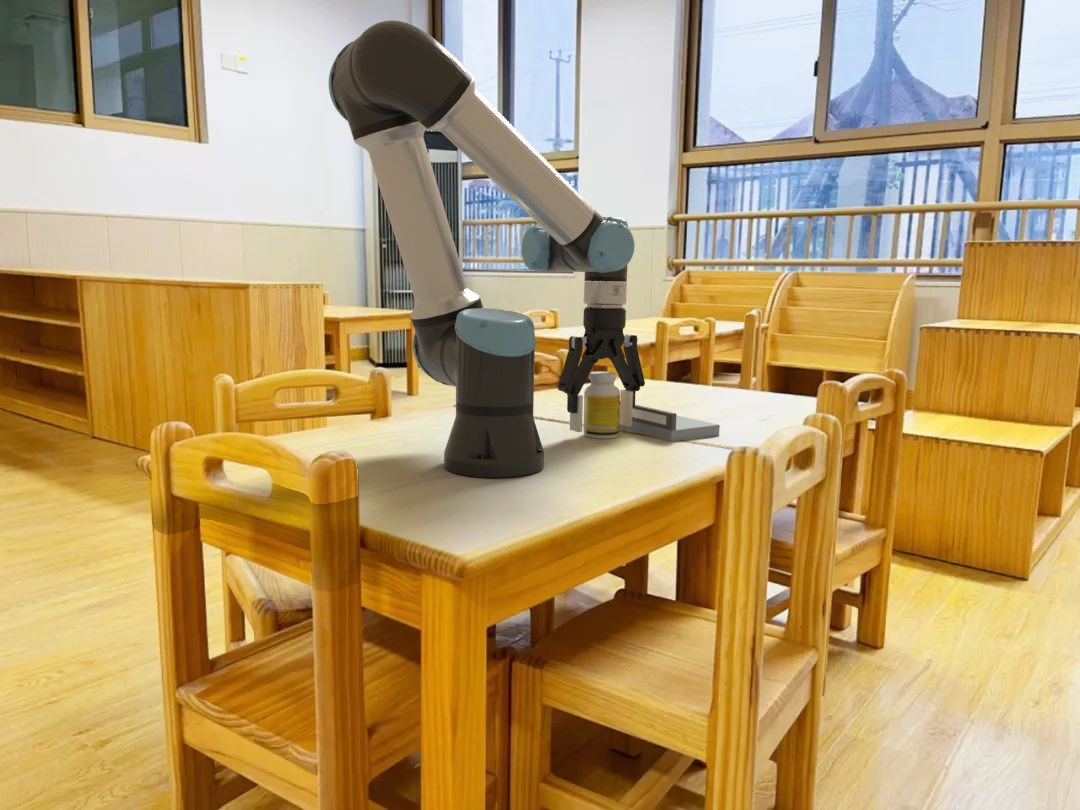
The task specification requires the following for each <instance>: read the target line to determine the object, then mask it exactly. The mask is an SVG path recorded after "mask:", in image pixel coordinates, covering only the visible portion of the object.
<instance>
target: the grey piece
mask: <svg viewBox="0 0 1080 810" xmlns="http://www.w3.org/2000/svg"><path fill="white" fill-rule="evenodd" d="M619 422H620V408H619ZM720 426H721V425H720V424H717V423H714V422H708V421H704V420H699V419H695V418H691V417H686V416H682V415H677V413H676V412H672V411H666V410H662V409H657V408H653V407H648V406H644V405H639V404H635V406H634V407H633V408H632V426H629V427H628V426H625V425H621V424H619V429H621V430H625V431H629V432H633V433H636V434H641V435H645V436H647V437H652V438H656V439H660V440H664V441H668V442H679V441H686V440H694V439H702V438H710V437H717V436H720V429H721V428H720Z"/></svg>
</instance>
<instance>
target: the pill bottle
mask: <svg viewBox="0 0 1080 810" xmlns="http://www.w3.org/2000/svg"><path fill="white" fill-rule="evenodd" d="M616 377H617V376H616V372H611V371H591V372H590V374H589V377H588V379H589V381H590V385H589V386H587V387H585V390H584V395H583V434H584V435H585V437H588V438H592V439H597V440H598V439H600V440H602V439H603V440H610V439H614V438H617V437H618V435H620V434H619V433H620V428H619V408H620V392H621V390H620V389H619V388H618V387H617V386H616V385H615V382H616Z"/></svg>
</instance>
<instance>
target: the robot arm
mask: <svg viewBox="0 0 1080 810" xmlns="http://www.w3.org/2000/svg"><path fill="white" fill-rule="evenodd" d="M475 82H476V81H475V76H474V75H473V74H472V73H471V72H470V71H469V69H467V68H466V67H465V66H464V64H463V63H462V62H461V61H460V60H459V59H458V58H456V56H454V55H453V53H451V52H450V51H449V50H448V49H447V48H446V47H445V46H443V44H441V43H440V42H439V41H437V39H435V38H434V37H433V36H431V35H430V34H428V33H427V32H425V31H424V30H422V29H421V28H419V27H418V26H415V25H413V24H411V23H408V22H405V21H400V20H393V19H392V20H384V21H381V22H376V23H374V24H373V25H371V26H369V27H368V28H366V29H365V30H364V31H363V32H362V33H361V34H360V36H358V37H357V38H355V40H353V41H351V42H349V43H348V44H346V45H345V46H344V47H343V48H342V49H341V50H340V51H339V52H338V54H337V55H336V57H335V59H334V61H333V63H332V65H331V67H330V71H329V75H328V93H329V96H330V99H331V102H332V105H333V106H334V108H335V110H336V111H337V112H338V113H339V115H340V116H341V117H342V118H343V119H344V120H345V121H347V123H348V125H349V129H350V131H351V135H352V138H353V142H354V144H356V145H358V146H360V147H361V148H363V149H364V150H366V151H367V153H368V154H369V155H368V156H369V158H370V162H371V165H372V168H373V171H374V174H375V177H376V181H377V185H378V187H379V189H380V190H379V191H380V193H381V197H382V199H383V203H384V206H385V209H386V212H387V215H388V219H389V222H390V225H391V228H392V232H393V235H394V237H395V240H396V244H397V247H398V250H399V253H400V254H399V255H400V257H401V259H402V264H403V266H404V269H405V273H406V275H407V278H408V282H409V285H410V288H411V292H412V295H413V298H414V301H415V305H414V307H413V309H412V311H411V313H410V315H409V316H410V320H411V322H412V326H413V330H414V332H415V333H414V335H413V338H412V352H413V356H414V359H415V361H416V364H417V365H418V367H419V368H420V369H421V371H422V372H423V373H424V374H426V375H427V376H428V377H430V378H431V379H432V380H433V381H435V382H437V383H441V384H442V385H445V386H450V387H455V418H454V421H453V424H452V427H451V430H450V433H449V435H448V439H447V442H446V446H445V448H444V451H443V467H444V469H446V470H448V471H449V472H451V473H455V474H458V475H461V476H462V475H463V476H468V477H469V476H470V477H477V478H478V477H479V478H513V477H521V476H527V475H528V476H529V475H532V474H536V473H538V472H541V471H542V470H543V469H544V468H545V451H544V448H543V444H542V441H541V438H540V435H539V431H538V429H537V428H538V427H537V425H536V421H535V416H534V405H535V404H534V402H535V400H534V397H535V396H534V394H535V358H536V357H535V355H536V354H535V353H536V351H535V348H536V344H537V341H536V332H535V324H534V322H533V320H532V318H531V317H530V316H527V315H526V314H524V313H522V312H521V313H520V312H518V311H512V310H504V309H498V308H486V307H485V308H484V306H483V303H482V300H481V299H482V298H481V296H480V294H478V293H476V292H474V291H473V290H471V289H470V288H469V287H468V285H467V282H466V278H465V274H464V272H463V268H462V266H461V262H460V259H459V255H458V251H457V247H456V245H455V241H454V238H453V233H452V230H451V228H450V224H449V221H448V217H447V214H446V211H445V207H444V204H443V200H442V197H441V193H440V190H439V187H438V183H437V179H436V176H435V173H434V169H433V166H432V162H431V159H430V155H429V152H428V150H427V145H426V142H425V139H424V135H425V132H426V130H428V131H434V130H436V131H439V132H440V133H441V134H442V135H443V136H445V138H446V139H448V141H450V142H451V143H452V144H453V145H454V146H455V147H456V148H457V149H459V150H460V152H461V153H463V155H465V156H466V157H467V158H468V159H469V160H470V161H471V162H472V163H474V164H475V166H476V167H478V169H480V170H481V171H482V173H484V174H485V176H487V177H488V178H489V179H490V180H491V181H492V182H494V184H496V186H497V187H499V188H500V190H502V191H503V192H504V193H505V194H506V195H507V196H508V197H510V199H511V200H512V201H513V202H515V204H517V205H518V206H519V207H520V208H521V209H522V210H523V211H524V212H525V213H526V214H527V215H528V216H530V218H531V219H533V220H534V221H535V222H536V223H537V224H538V225H533V226H530V227H529V228H527V229H526V231H525V232H524V235H523V237H522V240H521V257H522V261H523V264H524V265H525V267H526V268H528V269H529V270H530V271H536V272H537V271H538V272H543V273H547V272H559V273H561V272H562V273H563V272H566V273H567V272H569V273H570V272H571V273H573V272H577V273H578V272H579V273H584V282H583V283H584V285H583V286H584V289H583V304H585V305H586V307H584V308H583V318H582V320H583V321H582V323H583V324H582V325H583V328H584V334H583V336H574V335H573V336H572V335H570V336H569V338H568V351H567V354H566V359H565V362H564V365H563V369H562V371H561V374H560V378H559V381H558V385H557V390H558V391H560V392H563V393H564V394H566V395H567V398H566V399H567V400H566V401H567V402H566V404H567V405H566V408H567V409H566V410H567V411H566V412H567V413H569V430H570V431H574V432H576V433H582V432H583V416H584V395H583V394H580V393H581V391H582V389H583V387H584V386H585V383H586V381H587V379H588V378H589V377H590V372H592V369H593V368H594V366H595V364H597V363H598V361H599V360H604V359H609V360H610V361H611V363H612V365H613V367H614V369H615V371H616V373H617V375H618V377H619V379H620V382H621V384H622V385H623V388H624V389H620V422H619V424H621V425H625V426H628V427H629V426H632V408H633V407H634V406H635V405H636V392H639V391H640V389H641V388H642V387H644V386H645V384H646V382H645V381H646V380H645V376H644V373H643V368H642V364H641V360H640V355H639V352H638V351H639V349H638V336H637V335H635V334H625V333H624V329H625V327H626V322H627V318H626V317H627V309H626V308H625V307H623V306H624V305H626V304H627V287H628V286H627V285H628V283H627V279H628V265H629V263H630V262H631V260H632V259H633V256H634V252H635V245H636V243H635V237H634V236H633V233H632V231H631V230H630V228H629V223H628V221H627V220H626V218H623V217H619V216H616V217H615V216H602V215H601V214H599V212H598V211H597V210H595V208H593V206H592V205H591V204H590V203H589V202H588V201H587V200H586V199H585V198H584V197H583V196H582V195H581V194H580V193H579V192H578V191H577V190H576V189H575V188H574V187H573V186H572V185H571V184H570V183H569V182H568V181H567V180H566V179H565V178H564V177H563V176H562V175H561V174H560V172H558V171H557V170H556V169H555V168H554V167H553V166H552V165H551V164H550V163H549V162H548V161H547V160H546V159H545V158H544V157H543V156H542V155H541V154H540V152H538V150H537V149H536V148H534V146H532V144H531V143H529V142H528V140H526V138H525V137H524V136H523V135H522V134H521V133H520V132H519V131H518V130H517V129H516V128H515V127H514V126H513V125H512V124H511V123H510V121H508V120H507V119H506V118H505V117H504V116H503V115H502V114H501V113H500V112H499V111H498V110H497V109H496V108H495V106H493V105H492V104H491V103H490V102H489V100H487V99H486V98H485V97H484V95H482V94H481V93H480V91H479V90H477V88H476V86H475ZM622 346H623V350H622ZM584 348H585V349H584ZM583 349H584V351H583Z"/></svg>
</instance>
